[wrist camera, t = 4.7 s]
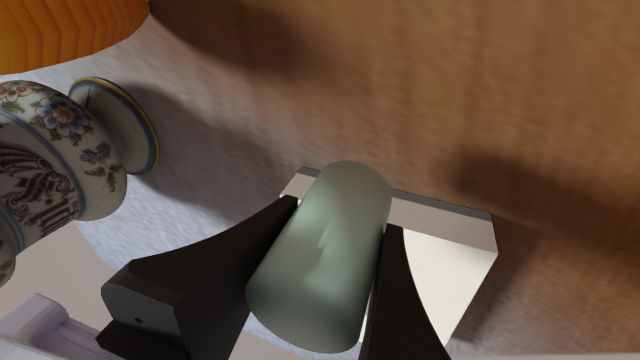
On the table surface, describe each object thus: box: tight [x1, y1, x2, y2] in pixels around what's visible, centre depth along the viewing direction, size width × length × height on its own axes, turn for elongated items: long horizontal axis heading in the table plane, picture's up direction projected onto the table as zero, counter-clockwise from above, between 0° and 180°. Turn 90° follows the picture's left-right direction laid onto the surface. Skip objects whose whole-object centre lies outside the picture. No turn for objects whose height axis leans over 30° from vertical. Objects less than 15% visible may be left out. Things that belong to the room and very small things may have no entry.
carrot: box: [0, 0, 150, 75], centre depth 16 cm, size 5×5×15 cm
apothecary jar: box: [0, 77, 159, 287], centre depth 22 cm, size 12×12×18 cm
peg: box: [245, 161, 392, 354], centre depth 13 cm, size 4×4×7 cm
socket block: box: [280, 167, 498, 347], centre depth 25 cm, size 14×14×4 cm
